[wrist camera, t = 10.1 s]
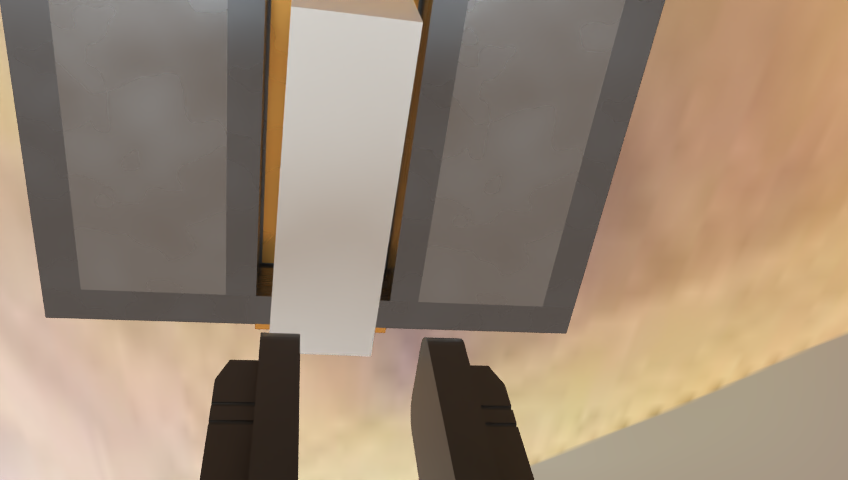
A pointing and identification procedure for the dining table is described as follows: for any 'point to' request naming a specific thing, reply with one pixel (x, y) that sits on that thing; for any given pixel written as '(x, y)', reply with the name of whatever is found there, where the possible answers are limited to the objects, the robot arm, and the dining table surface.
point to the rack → (262, 144)
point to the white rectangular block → (340, 167)
